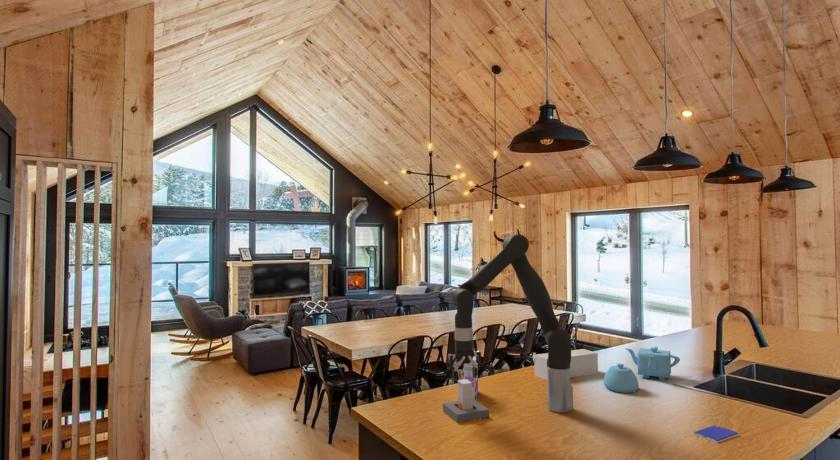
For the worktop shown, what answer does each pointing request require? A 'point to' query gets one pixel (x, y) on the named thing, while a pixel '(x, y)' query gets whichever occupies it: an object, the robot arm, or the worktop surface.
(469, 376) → the candy box
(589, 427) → the worktop surface
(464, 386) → the skincare box
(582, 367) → the white rectangular block
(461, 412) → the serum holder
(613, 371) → the sugar bowl
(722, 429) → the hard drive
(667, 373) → the teakettle
